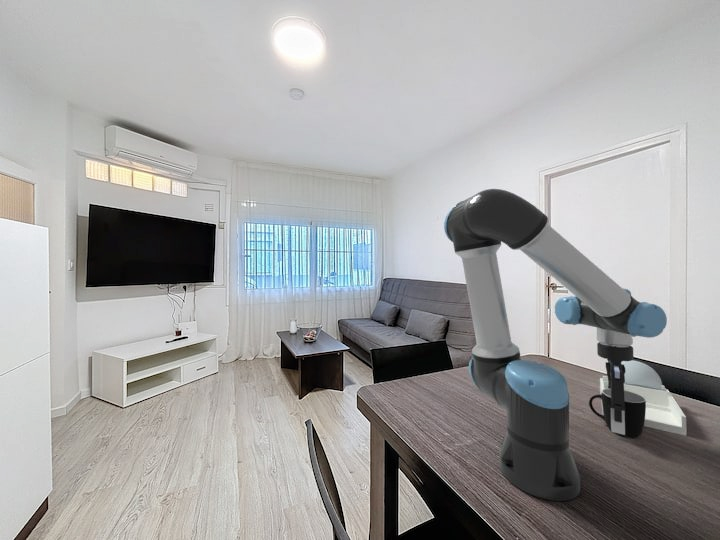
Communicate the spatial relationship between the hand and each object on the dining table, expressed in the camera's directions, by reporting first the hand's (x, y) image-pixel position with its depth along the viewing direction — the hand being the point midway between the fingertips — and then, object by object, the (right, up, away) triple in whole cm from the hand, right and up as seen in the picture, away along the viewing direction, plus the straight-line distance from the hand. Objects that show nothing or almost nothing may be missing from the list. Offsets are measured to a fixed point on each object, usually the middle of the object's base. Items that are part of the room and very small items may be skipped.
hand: (616, 425), depth 80 cm
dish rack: (+16, -1, +11) cm, 19 cm away
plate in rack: (+20, -1, +16) cm, 25 cm away
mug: (0, -2, 0) cm, 2 cm away
